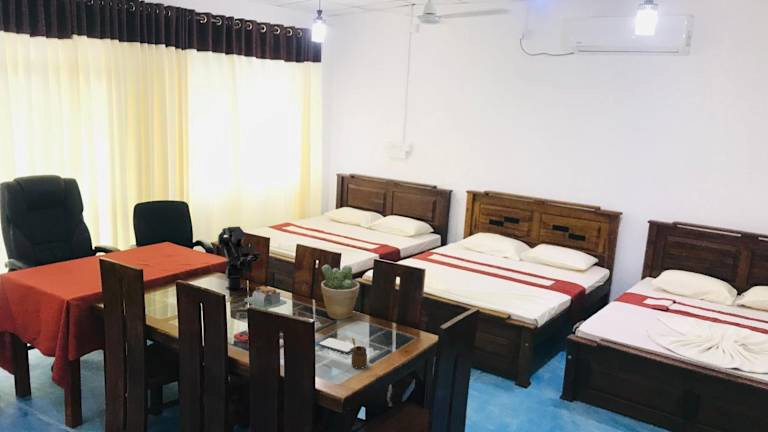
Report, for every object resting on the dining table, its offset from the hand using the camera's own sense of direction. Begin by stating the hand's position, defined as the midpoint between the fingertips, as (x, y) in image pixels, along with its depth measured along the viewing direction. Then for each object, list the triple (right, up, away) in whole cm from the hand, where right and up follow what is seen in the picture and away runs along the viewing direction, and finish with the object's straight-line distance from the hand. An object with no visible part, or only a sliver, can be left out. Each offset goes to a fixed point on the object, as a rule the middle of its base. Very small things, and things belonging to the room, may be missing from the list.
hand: (251, 273), depth 294 cm
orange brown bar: (+10, -9, -7) cm, 15 cm away
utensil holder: (+58, -29, -73) cm, 98 cm away
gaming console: (+15, -22, -44) cm, 52 cm away
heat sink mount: (+8, -14, -5) cm, 17 cm away
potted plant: (+47, -18, -19) cm, 54 cm away
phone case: (+49, -26, -56) cm, 79 cm away
